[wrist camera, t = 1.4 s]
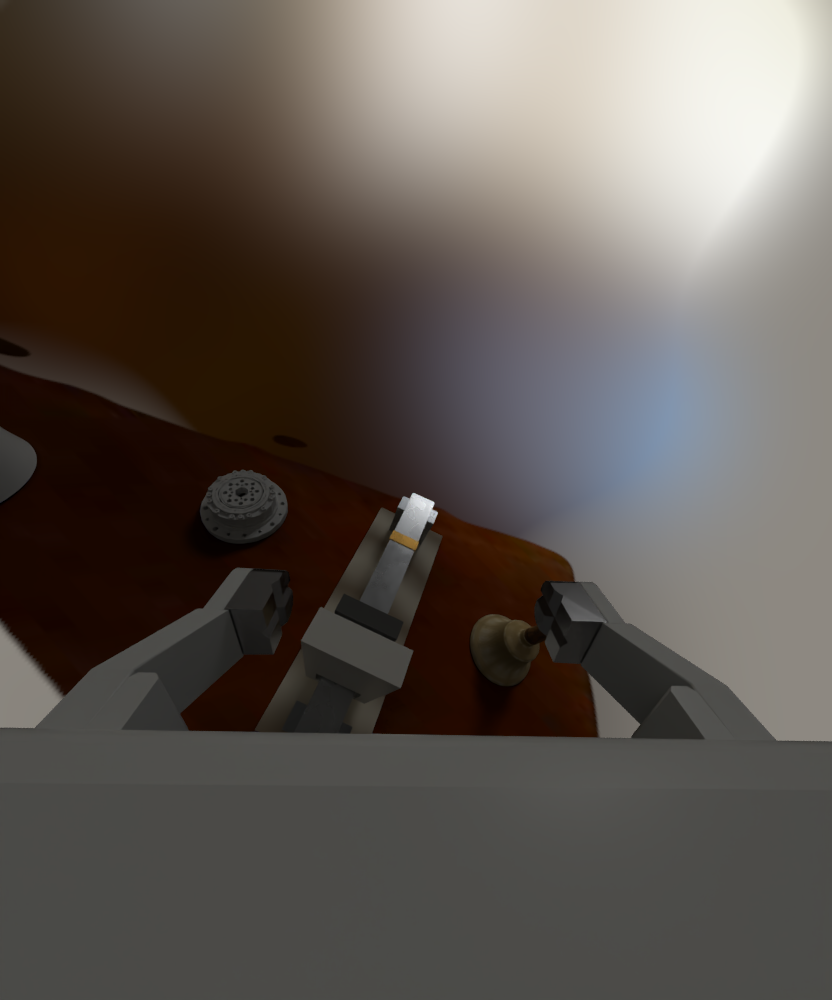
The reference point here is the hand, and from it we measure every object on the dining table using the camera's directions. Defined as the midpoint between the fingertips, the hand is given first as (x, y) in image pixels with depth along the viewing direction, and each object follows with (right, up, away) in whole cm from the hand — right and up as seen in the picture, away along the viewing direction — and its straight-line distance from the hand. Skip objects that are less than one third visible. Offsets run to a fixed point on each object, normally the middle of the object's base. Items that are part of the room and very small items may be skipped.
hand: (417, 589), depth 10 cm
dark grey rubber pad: (-6, -11, +22) cm, 25 cm away
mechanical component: (-23, +1, +31) cm, 38 cm away
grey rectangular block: (-7, -13, +19) cm, 25 cm away
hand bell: (+11, -16, +29) cm, 35 cm away
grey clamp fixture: (-5, -10, +26) cm, 28 cm away
